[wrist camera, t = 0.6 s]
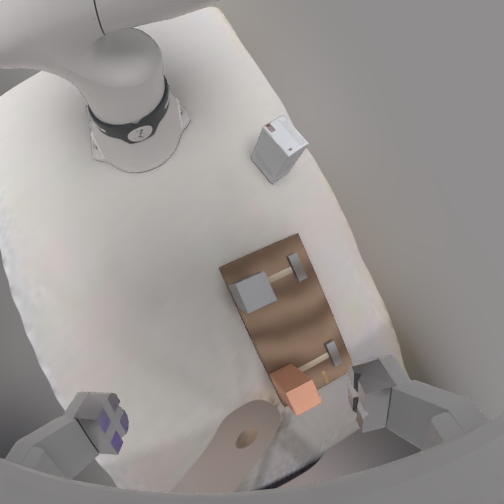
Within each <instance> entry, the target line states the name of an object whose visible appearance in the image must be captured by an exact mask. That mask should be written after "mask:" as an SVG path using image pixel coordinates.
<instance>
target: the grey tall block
mask: <svg viewBox="0 0 504 504" xmlns="http://www.w3.org/2000/svg"><path fill="white" fill-rule="evenodd" d="M228 286H229V289H230V291H231V293H232V295H233V297H234V300H235V302H236V304H237V306H238V308H239V309H241V310H243V311H245V312H247V313H250V312H253V311H255V310H257V309H259V308H261V307H263V306H265V305H268V304H270V303H272V302H274V301H276V300H277V299H276V296H275V294H274V292H273V290H272V287H271V285H270V283H269V280H268V278H267V276H266V274H265V271H263V272H259V273H255V274H251V275H249V276H247V277H244V278H242V279H240V280H238V281H235V282H233V283H231V284H229V285H228Z"/></svg>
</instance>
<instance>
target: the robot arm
mask: <svg viewBox="0 0 504 504" xmlns="http://www.w3.org/2000/svg"><path fill="white" fill-rule="evenodd" d="M218 1H219V0H0V68H3V69H9V68H32V69H38V70H42V71H46V72H49V73H52V74H55V75H58V76H60V77H62V78H64V79H66V80H68V81H69V82H71V83H72V84H74V85H75V86H76V87H77V88H78V90H79V91H80V92H81V94H82V95H83V97H84V98H85V100H86V102H87V103H88V105H87V106H86V113H87V116H88V117H91V121H88V126H89V128H90V129H91V151H92V156H93V158H94V159H95V160H97V161H101V162H108V163H110V164H112V165H113V166H115V167H116V168H118V169H120V170H123V171H126V172H144V171H148V170H151V169H153V168H156V167H158V166H159V165H161V164H162V163H164V162H165V161H166V160H167V159H168V158H169V157H170V156H171V155H172V154H173V152H174V151H175V149H176V147H177V145H178V142H179V139H180V136H181V133H182V131H183V130H184V129H185V128H186V127H187V125H188V124H189V122H190V116H189V114H188V113H187V112H186V110H185V109H184V108H183V106H182V105H181V104H180V102H179V100H178V99H177V98H176V97H175V96H174V94H173V93H172V92H171V90H170V89H169V86H168V84H167V80H166V78H165V76H164V73H163V64H162V54H161V50H160V48H159V46H158V44H157V43H156V42H155V40H154V39H152V38H151V37H150V36H149V35H148V34H146V33H145V32H143V31H141V30H139V29H135V28H132V27H136V26H140V25H144V24H149V23H153V22H158V21H163V20H168V19H172V18H175V17H178V16H181V15H184V14H187V13H191V12H194V11H197V10H200V9H203V8H206V7H209V6H212V5H215V4H216V3H217V2H218ZM181 114H182V115H181ZM96 148H98V149H96ZM348 376H349V379H350V381H351V383H350V384H349V385H348V395H349V401H350V405H351V408H352V410H353V411H354V412H356V413H357V419H356V420H357V422H358V424H359V427H360V429H361V431H362V433H364V432H368V431H372V430H376V429H379V428H383V427H386V428H388V429H389V430H391V431H392V432H394V433H395V434H397V435H399V436H400V437H402V438H403V439H405V440H407V441H408V442H410V443H411V444H413V445H415V446H416V447H418V448H420V449H421V450H422V451H421V452H419V453H416V454H413V455H411V456H408V457H406V458H403V459H400V460H397V461H394V462H391V463H388V464H385V465H382V466H378V467H375V468H372V469H368V470H365V471H361V472H357V473H354V474H350V475H346V476H342V477H337V478H333V479H328V480H324V481H319V482H314V483H308V484H303V485H297V486H290V487H284V488H276V489H268V490H258V491H247V492H232V493H203V494H202V493H201V494H200V493H198V494H197V493H166V492H151V491H140V490H131V489H123V488H115V487H109V486H103V485H97V484H91V483H86V482H81V481H76V480H72V478H73V477H74V476H76V474H78V473H79V472H80V471H81V470H82V469H83V468H84V467H86V466H87V465H88V464H89V463H90V462H91V461H92V460H93V459H94V458H95V457H96V456H98V455H99V453H103V454H116V455H118V454H119V451H120V449H121V446H122V444H123V441H122V439H121V437H123V436H124V435H125V434H126V433H127V430H128V422H129V421H128V417H127V414H126V412H125V410H124V409H122V408H121V407H120V406H119V403H120V400H119V399H118V397H117V395H116V394H114V393H105V392H83V391H81V392H79V393H77V395H76V396H75V398H74V399H73V401H72V402H71V404H70V406H69V407H68V409H67V410H66V412H65V413H64V415H63V416H62V417H58V418H56V419H54V420H53V421H51V422H49V423H48V424H46V425H44V426H43V427H41V428H39V429H37V430H36V431H34V432H32V433H31V434H29V435H27V436H25V437H23V438H22V439H20V440H18V441H17V442H16V443H15V445H14V446H13V448H12V449H11V451H10V452H9V454H8V455H7V457H6V458H5V459H2V458H0V504H504V411H503V412H501V413H500V414H498V415H496V416H494V417H493V418H491V419H489V420H488V419H487V418H486V417H485V415H484V414H483V413H482V412H481V411H480V409H479V408H478V407H477V406H476V404H475V403H474V402H473V401H472V400H471V399H469V398H466V397H463V396H460V395H457V394H454V393H451V392H448V391H445V390H442V389H439V388H436V387H434V386H431V385H428V384H425V383H422V382H419V381H417V380H413V381H411V380H410V379H409V377H408V376H407V375H406V373H405V372H404V371H403V369H402V368H401V366H400V365H399V364H398V362H397V361H396V360H395V358H394V357H393V356H392V355H388V356H385V357H381V358H378V359H376V360H372V361H368V362H364V363H360V364H356V365H352V366H349V369H348Z"/></svg>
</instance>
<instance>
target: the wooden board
mask: <svg viewBox="0 0 504 504" xmlns="http://www.w3.org/2000/svg"><path fill="white" fill-rule="evenodd" d="M220 271H221V273H222V275H223V277H224V280H225V282H226V284H227V286H228V285H229V284H231V283H233V282H235V281H238V280H240V279H242V278H244V277H247V276H249V275H251V274H255V273H259V272H263V271H265V274H266V276H267V278H268V280H269V283H270V285H271V287H272V290H273V292H274V294H275V296H276V299H277V300H276V301H274V302H272V303H270V304H268V305H265V306H263V307H261V308H259V309H257V310H255V311H253V312H250V313H247V312H245V311H243V310H241V309H239V308H238V306H237V304H236V302H235V300H234V297H233V295H232V293H231V291H230V289H229V286H228V289H229V291H230V293H231V295H232V298H233V300H234V302H235V304H236V307H237V309H238V311H239V313H240V315H241V317H242V320H243V322H244V324H245V326H246V328H247V331H248V333H249V335H250V337H251V339H252V341H253V343H254V346H255V348H256V350H257V352H258V354H259V356H260V358H261V360H262V363H263V365H264V367H265V369H266V371H267V373H268V375H269V374H270V373H272V372H274V371H276V370H278V369H280V368H282V367H284V366H286V365H288V364H290V363H291V364H293V365H294V366H295V367H297V368H298V369H299V370H300V371H302V372H303V373H304V374H306V375H307V376H308V377H310V378H311V379H312V380H313V382H314V385H315V387H316V389H317V390H318V389H320V388H322V387H323V386H325V385H327V384H329V383H331V382H332V381H334V380H336V379H337V378H339V377H341V376H342V375H344V374H346V373H347V372H348V369H349V366H352V365H353V364H352V362H351V359H350V356H349V354H348V351H347V349H346V346H345V344H344V341H343V339H342V336H341V334H340V331H339V329H338V326H337V324H336V321H335V319H334V316H333V314H332V311H331V309H330V307H329V304H328V302H327V299H326V297H325V295H324V292H323V290H322V288H321V285H320V283H319V280H318V278H317V276H316V273H315V271H314V269H313V266H312V264H311V262H310V260H309V257H308V255H307V253H306V250H305V248H304V246H303V244H302V241H301V239H300V237H299V235H298V233H297V234H295V235H293V236H290V237H288V238H286V239H284V240H281V241H279V242H277V243H274V244H272V245H270V246H268V247H265V248H263V249H261V250H258V251H256V252H254V253H251V254H249V255H247V256H245V257H242V258H240V259H238V260H235V261H233V262H231V263H229V264H226V265H224V266H222V267H220ZM269 377H270V375H269ZM270 379H271V377H270ZM271 381H272V379H271ZM272 383H273V381H272ZM273 386H274V388H275V385H274V383H273ZM275 390H276V388H275ZM276 392H277V390H276ZM277 394H278V392H277ZM278 396H279V398H280V400H281V402H282V404H283V405H284V407H286V406H288V405H287V404H286V402H285V401H284V400H283V399H282V397H281V396H280V395H279V394H278Z"/></svg>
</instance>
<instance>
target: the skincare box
mask: <svg viewBox="0 0 504 504" xmlns="http://www.w3.org/2000/svg"><path fill="white" fill-rule="evenodd" d="M307 145H308V142H307V141H306V140H305V139H304V138H303V137H302V135H301V134H300V133H299V132H298V131H297V130H296V129H295V128H294V126H293V125H292V124H291V123H290V122H289V121H288V120H287V119H286V118H285V117H284V115H282V116H280V117H278V118H277V119H275V120H273V121H272V122H270V123H268V124H267V125H265V126H263V127H262V130H261V133H260V136H259V139H258V142H257V144H256V147H255V150H254V153H253V156H252V160H253V162H254V163H255V164H256V165H257V166H258V168H259V169H260V170H261V171H262V173H263V174H264V175H265V176H266V177H267V179H268V180H269V181H270V182H271V183H272V184H273V183H274V182H276V181H277V180H279V179H280V178H281V177H283V176H284V175H286V174H287V173H288V172H289V171H290V169H291V168H292V167H293V165H294V164H295V162H296V161H297V160H298V158H299V157H300V155H301V154H302V153H303V151H304V150H305V148H306V147H307Z"/></svg>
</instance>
